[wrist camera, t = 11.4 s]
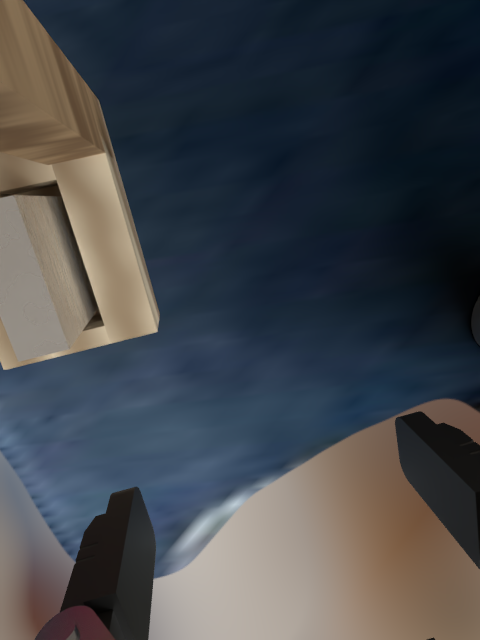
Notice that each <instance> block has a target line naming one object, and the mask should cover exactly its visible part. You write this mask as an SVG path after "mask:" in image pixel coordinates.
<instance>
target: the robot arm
mask: <svg viewBox="0 0 480 640" xmlns="http://www.w3.org/2000/svg"><path fill="white" fill-rule="evenodd" d="M471 327H472V333H473V336H474V338H475V341H476V342H477V343H478V345H479V346H480V296H479V297H478V299H477V301H476V304H475V306H474V309H473V313H472V319H471ZM395 426H396V434H397V442H398V450H399V459H400V463H401V467H402V469H403V472H404V474H405V476H406V478H407V480H408V481H409V482H410V484H411V485H412V486H413V487H414V488H415V490H416V491H417V492H418V494H419V495H420V496H421V497H422V499H423V500H424V501H425V502H426V503H427V505H428V506H429V507H430V508H431V510H432V511H433V512H434V513H435V514H436V516H437V517H438V518H439V520H440V521H441V522H442V523H443V525H444V526H445V527H446V528H447V530H448V531H449V532H450V533H451V535H452V536H453V537H454V538H455V539H456V541H457V542H458V543H459V545H460V546H461V547H462V548H463V549H464V551H465V552H466V553H467V554H468V556H469V557H470V558H471V559H472V561H473V562H474V563H475V564H476V566H477V567H478V568H479V569H480V445H479V444H477V443H476V442H473V440H472V439H471V438H470V437H469V436H468V435H466V434H465V433H464V432H463V431H461V430H460V429H457V428H455V427H452V426H450V425H447V424H445V423H441V424H435V423H434V422H433V421H432V420H431V419H430V418H429V417H427V416H426V415H425V414H424V413H423V412H416V413H412V414H408V415H405V416H401V417H397V418H396V420H395ZM155 554H156V542H155V535H154V530H153V527H152V524H151V521H150V518H149V515H148V512H147V509H146V506H145V503H144V501H143V498H142V495H141V492H140V490H139V488H138V487H134V488H130V489H126V490H122V491H119V492H115V493H112V494H111V496H110V499H109V503H108V507H107V511H106V514H102V515H98V516H96V517H95V518H94V520H93V521H92V522H91V524H90V525H89V526H88V528H87V529H86V530H85V532H84V535H83V539H82V542H81V545H80V550H79V552H78V555H77V558H76V564H75V565H74V568H73V571H72V574H71V578H70V581H69V584H68V587H67V591H66V594H65V597H64V601H63V604H62V607H61V610H60V613H58V614H57V615H55V616H54V617H53V618H52V619H51V620H49V621H48V622H47V623H46V624H45V626H44V627H43V628H42V629H41V630H40V632H39V633H38V635H37V636H36V638H35V640H148V635H149V624H150V613H151V601H152V589H153V578H154V566H155ZM428 640H435V639H434V638H431V639H428Z"/></svg>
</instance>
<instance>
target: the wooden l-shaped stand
mask: <svg viewBox="0 0 480 640" xmlns="http://www.w3.org/2000/svg"><path fill="white" fill-rule="evenodd" d="M12 195H25V196H55V197H62V198H63V201H64V204H65V207H66V210H67V213H68V216H69V219H70V222H71V226H72V229H73V232H74V235H75V238H76V241H77V244H78V247H79V250H80V253H81V256H82V259H83V262H84V265H85V268H86V271H87V274H88V277H89V280H90V283H91V286H92V289H93V292H94V295H95V298H96V301H97V304H98V307H99V308H98V310H97V311H96V312H95V314H94V315H93V317H92V318H91V319H90V321H89V322H88V324H87V325H86V326H85V328H84V329H83V331H82V332H81V333H80V335H79V336H78V338H77V339H76V341H75V342H74V343H73V345H72V346H71V348H70V349H69V350H64V351H60V352H56V353H52V354H48V355H44V356H40V357H36V358H32V359H28V360H24V361H20V362H18V360H17V357H16V355H15V352H14V350H13V347H12V345H11V342H10V340H9V337H8V335H7V332H6V330H5V327H4V325H3V322H2V320H1V317H0V362H1V364H2V366H3V369H4V370H7V369H11V368H15V367H19V366H23V365H27V364H31V363H35V362H39V361H43V360H47V359H51V358H55V357H59V356H63V355H67V354H71V353H75V352H79V351H83V350H87V349H91V348H95V347H99V346H103V345H107V344H111V343H115V342H119V341H123V340H127V339H131V338H135V337H139V336H143V335H147V334H151V333H155V332H157V331H158V323H159V316H160V313H159V310H158V306H157V303H156V299H155V296H154V292H153V289H152V285H151V281H150V278H149V274H148V271H147V267H146V264H145V260H144V257H143V253H142V250H141V246H140V243H139V239H138V236H137V232H136V229H135V225H134V222H133V218H132V215H131V211H130V208H129V204H128V201H127V197H126V194H125V190H124V187H123V183H122V180H121V176H120V173H119V169H118V165H117V162H116V158H115V155H114V151H113V148H112V144H111V141H110V137H109V134H108V130H107V127H106V123H105V120H104V116H103V113H102V109H101V106H100V102H99V100H98V99H97V97H96V96H95V95H94V93H93V92H92V91H91V89H90V88H89V87H88V85H87V84H86V83H85V81H84V80H83V79H82V78H81V76H80V75H79V74H78V72H77V71H76V70H75V68H74V67H73V66H72V64H71V63H70V62H69V60H68V59H67V58H66V56H65V55H64V54H63V53H62V51H61V50H60V49H59V47H58V46H57V45H56V43H55V42H54V41H53V39H52V38H51V37H50V35H49V34H48V33H47V31H46V30H45V29H44V28H43V26H42V25H41V24H40V22H39V21H38V20H37V18H36V17H35V16H34V14H33V13H32V12H31V10H30V9H29V8H28V7H27V5H26V4H25V3H24V1H23V0H0V198H3V197H8V196H12Z"/></svg>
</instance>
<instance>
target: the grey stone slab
mask: <svg viewBox="0 0 480 640" xmlns="http://www.w3.org/2000/svg"><path fill="white" fill-rule="evenodd" d="M98 308H99V307H98V304H97V301H96V298H95V295H94V292H93V289H92V286H91V283H90V280H89V277H88V274H87V271H86V268H85V265H84V262H83V259H82V256H81V253H80V250H79V247H78V244H77V241H76V238H75V235H74V232H73V229H72V226H71V222H70V219H69V216H68V213H67V210H66V207H65V204H64V201H63V198H62V197H55V196H25V195H12V196H8V197H3V198H0V317H1V320H2V322H3V325H4V327H5V330H6V332H7V335H8V337H9V340H10V342H11V345H12V347H13V350H14V352H15V355H16V357H17V360H18V362H20V361H24V360H28V359H32V358H36V357H40V356H44V355H48V354H52V353H56V352H60V351H64V350H69V349H70V348H71V346H72V345H73V343H74V342H75V341H76V339H77V338H78V336H79V335H80V333H81V332H82V331H83V329H84V328H85V326H86V325H87V324H88V322H89V321H90V319H91V318H92V317H93V315H94V314H95V312H96V311H97V310H98Z"/></svg>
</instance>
